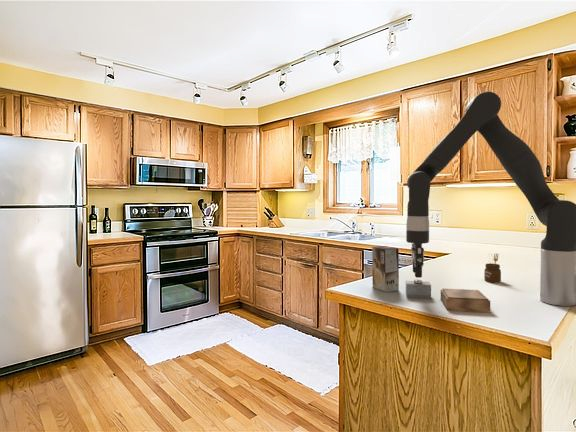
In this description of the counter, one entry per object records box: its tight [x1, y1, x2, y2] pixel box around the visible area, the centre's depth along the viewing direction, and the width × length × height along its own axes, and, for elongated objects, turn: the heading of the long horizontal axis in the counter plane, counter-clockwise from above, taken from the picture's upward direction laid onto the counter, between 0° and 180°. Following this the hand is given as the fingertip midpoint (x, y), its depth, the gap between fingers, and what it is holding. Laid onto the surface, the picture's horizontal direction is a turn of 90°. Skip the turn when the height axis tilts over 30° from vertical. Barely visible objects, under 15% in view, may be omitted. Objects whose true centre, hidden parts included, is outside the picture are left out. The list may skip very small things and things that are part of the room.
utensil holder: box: [483, 253, 502, 284], centre depth 146 cm, size 6×6×12 cm
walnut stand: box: [440, 288, 491, 314], centre depth 113 cm, size 12×12×4 cm
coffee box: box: [371, 245, 400, 293], centre depth 136 cm, size 9×6×16 cm
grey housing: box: [405, 279, 432, 300], centre depth 125 cm, size 8×5×6 cm, turn 75°
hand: (417, 274), depth 125 cm, fingers open, 8 cm apart
